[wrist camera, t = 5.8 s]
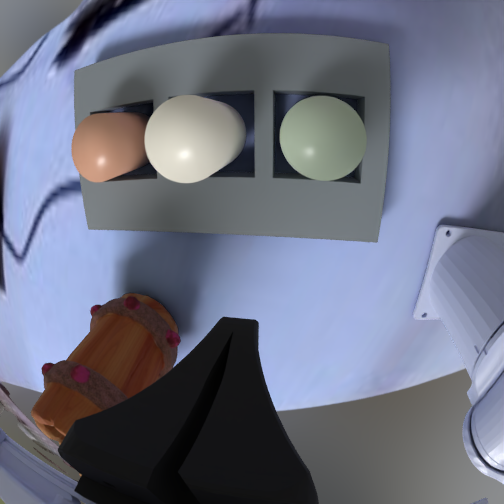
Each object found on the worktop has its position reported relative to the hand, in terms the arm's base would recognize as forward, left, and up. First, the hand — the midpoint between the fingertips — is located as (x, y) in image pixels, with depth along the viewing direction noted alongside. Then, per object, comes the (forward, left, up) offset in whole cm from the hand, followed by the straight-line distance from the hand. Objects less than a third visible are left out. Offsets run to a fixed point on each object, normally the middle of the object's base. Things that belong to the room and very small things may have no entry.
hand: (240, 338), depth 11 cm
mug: (+11, +11, -10) cm, 19 cm away
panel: (+3, -7, -10) cm, 12 cm away
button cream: (+3, -7, -8) cm, 11 cm away
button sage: (-3, -7, -9) cm, 12 cm away
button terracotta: (+9, -7, -9) cm, 15 cm away
